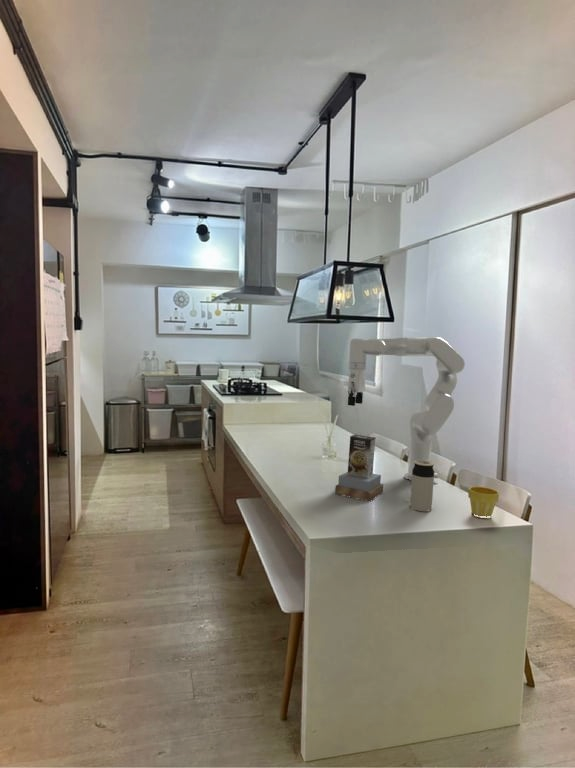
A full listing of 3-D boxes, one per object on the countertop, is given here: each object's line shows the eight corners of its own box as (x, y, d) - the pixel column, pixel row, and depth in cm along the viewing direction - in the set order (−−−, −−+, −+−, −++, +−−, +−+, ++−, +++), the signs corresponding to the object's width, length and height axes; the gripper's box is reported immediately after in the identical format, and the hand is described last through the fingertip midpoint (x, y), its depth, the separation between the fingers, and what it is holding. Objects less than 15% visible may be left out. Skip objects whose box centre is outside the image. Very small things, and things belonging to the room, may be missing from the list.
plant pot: (489, 511, 189) (491, 486, 188) (501, 521, 179) (504, 495, 178) (462, 510, 189) (464, 485, 188) (473, 520, 179) (475, 493, 178)
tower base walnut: (382, 493, 207) (383, 484, 207) (369, 502, 194) (370, 493, 194) (349, 486, 215) (349, 477, 214) (334, 495, 202) (335, 485, 201)
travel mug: (416, 512, 184) (420, 465, 182) (405, 505, 192) (409, 459, 190) (435, 511, 186) (439, 464, 185) (424, 504, 194) (427, 459, 192)
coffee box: (346, 474, 204) (349, 436, 202) (352, 471, 209) (355, 433, 208) (368, 478, 199) (370, 439, 198) (373, 475, 205) (375, 436, 203)
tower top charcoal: (380, 484, 206) (380, 475, 206) (368, 491, 195) (368, 481, 195) (351, 478, 213) (352, 469, 213) (338, 485, 202) (338, 475, 202)
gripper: (358, 367, 213) (356, 407, 214) (371, 366, 228) (369, 403, 230) (342, 366, 216) (340, 405, 218) (355, 365, 231) (353, 401, 233)
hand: (355, 404), depth 224 cm, fingers open, 9 cm apart
